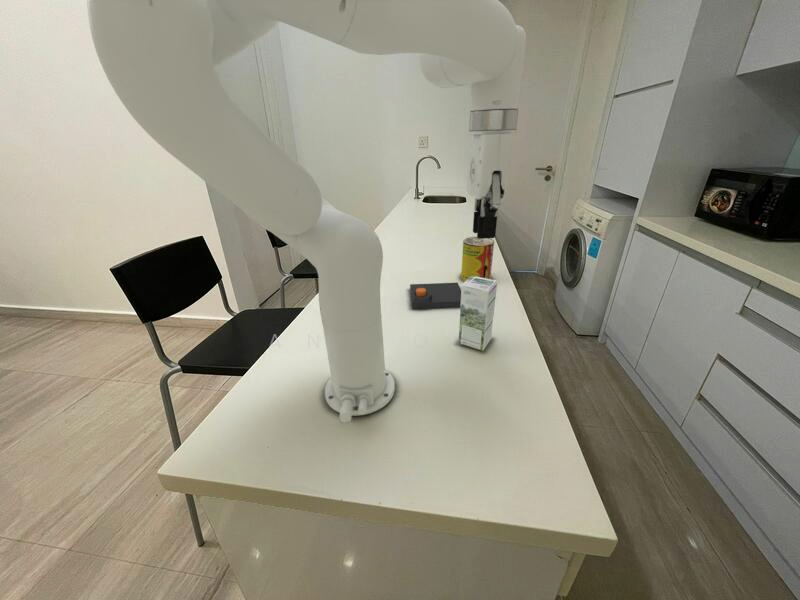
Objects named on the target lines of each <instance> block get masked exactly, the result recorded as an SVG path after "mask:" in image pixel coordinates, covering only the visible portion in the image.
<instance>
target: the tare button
mask: <svg viewBox="0 0 800 600" xmlns="http://www.w3.org/2000/svg"><path fill="white" fill-rule="evenodd" d="M416 296H419V297H423V296H426V289H425V288H418V289H416Z"/></svg>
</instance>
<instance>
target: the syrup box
mask: <svg viewBox="0 0 800 600" xmlns="http://www.w3.org/2000/svg"><path fill="white" fill-rule="evenodd" d="M497 288H498V280H496V279H492V278H491V279H486V278H481V277H475V276H470V277H469V278H468V279H467V280H466V281H464V282H463V283H462V284H461V287H460V289H461V306H460V307H459V326H458V344H459V345H461V346H465V347H468V348H471V349H474V350H477V351H481V352H483V351H484V350H485V349H486V348H487V346H488V344H489V343H490V342H491V340H492V336H493V323H494V313H495V307H496V306H495V305H496V299H497V298H496V297H497Z"/></svg>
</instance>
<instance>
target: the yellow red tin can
mask: <svg viewBox="0 0 800 600" xmlns="http://www.w3.org/2000/svg"><path fill="white" fill-rule="evenodd" d="M494 246H495V240H494V239H493V238H484V239H479V238H478V237H477V236H469V237H466V238H464V239H463V240H462V256H461V257H462V258H461V276H460V277H461V280H462V281H464V282H465V281H466V280H467V279H468V278H469V277H470V276H475V277H481V278H486V279H491V280H492V278H491V277H492V269H493V268H492V266H493V258H494V257H493V256H494Z"/></svg>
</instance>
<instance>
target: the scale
mask: <svg viewBox="0 0 800 600" xmlns="http://www.w3.org/2000/svg"><path fill="white" fill-rule="evenodd" d="M418 288H425V289H426V296H423V297H419V296H416V289H418ZM409 291H410V292H409V293H410V301H411V309H412V310H427V309H429V310H430V309H451V308H453V309H455V308H460V306H461V287H460V285H459V282H437V283H435V282H434V283H432V282H431V283H411V284H409Z"/></svg>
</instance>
